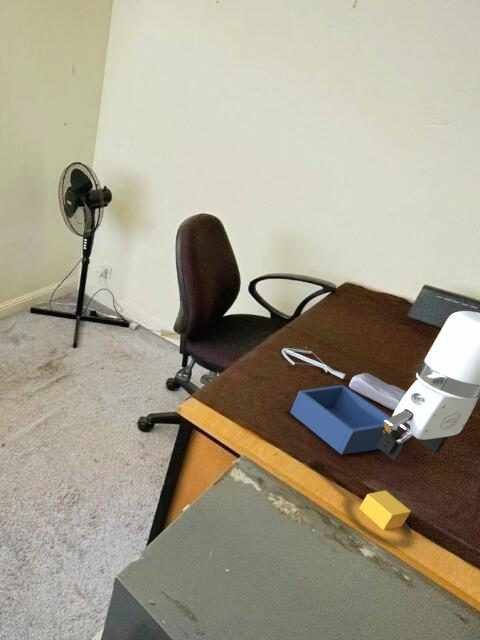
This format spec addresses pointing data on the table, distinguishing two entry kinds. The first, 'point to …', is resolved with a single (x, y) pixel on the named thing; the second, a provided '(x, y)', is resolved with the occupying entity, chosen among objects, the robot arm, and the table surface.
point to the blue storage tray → (340, 418)
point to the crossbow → (309, 360)
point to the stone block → (377, 390)
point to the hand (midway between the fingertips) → (406, 449)
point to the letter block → (384, 510)
